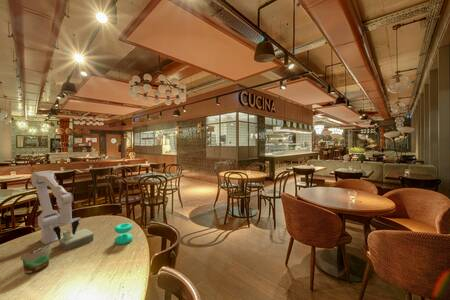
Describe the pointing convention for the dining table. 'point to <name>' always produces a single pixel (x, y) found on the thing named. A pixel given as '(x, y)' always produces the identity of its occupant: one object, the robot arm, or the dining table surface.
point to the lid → (75, 236)
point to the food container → (36, 260)
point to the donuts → (123, 237)
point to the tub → (76, 243)
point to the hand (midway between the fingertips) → (66, 236)
